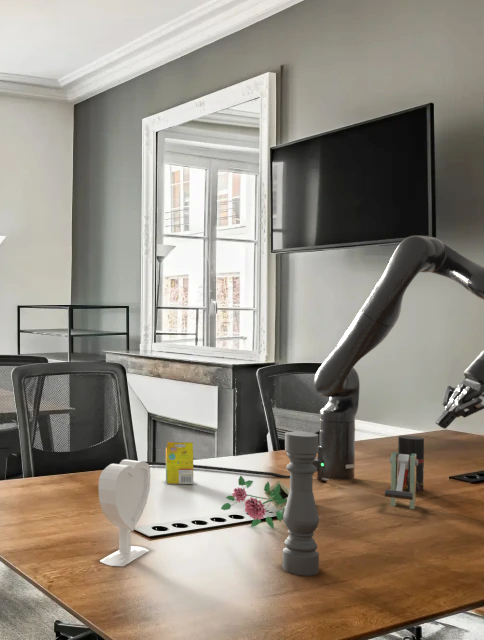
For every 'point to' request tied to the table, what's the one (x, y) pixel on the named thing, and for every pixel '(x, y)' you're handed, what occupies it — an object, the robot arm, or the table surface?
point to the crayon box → (179, 463)
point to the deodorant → (409, 447)
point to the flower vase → (255, 510)
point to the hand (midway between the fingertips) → (439, 425)
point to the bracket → (413, 464)
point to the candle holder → (301, 505)
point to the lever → (400, 480)
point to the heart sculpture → (124, 504)
